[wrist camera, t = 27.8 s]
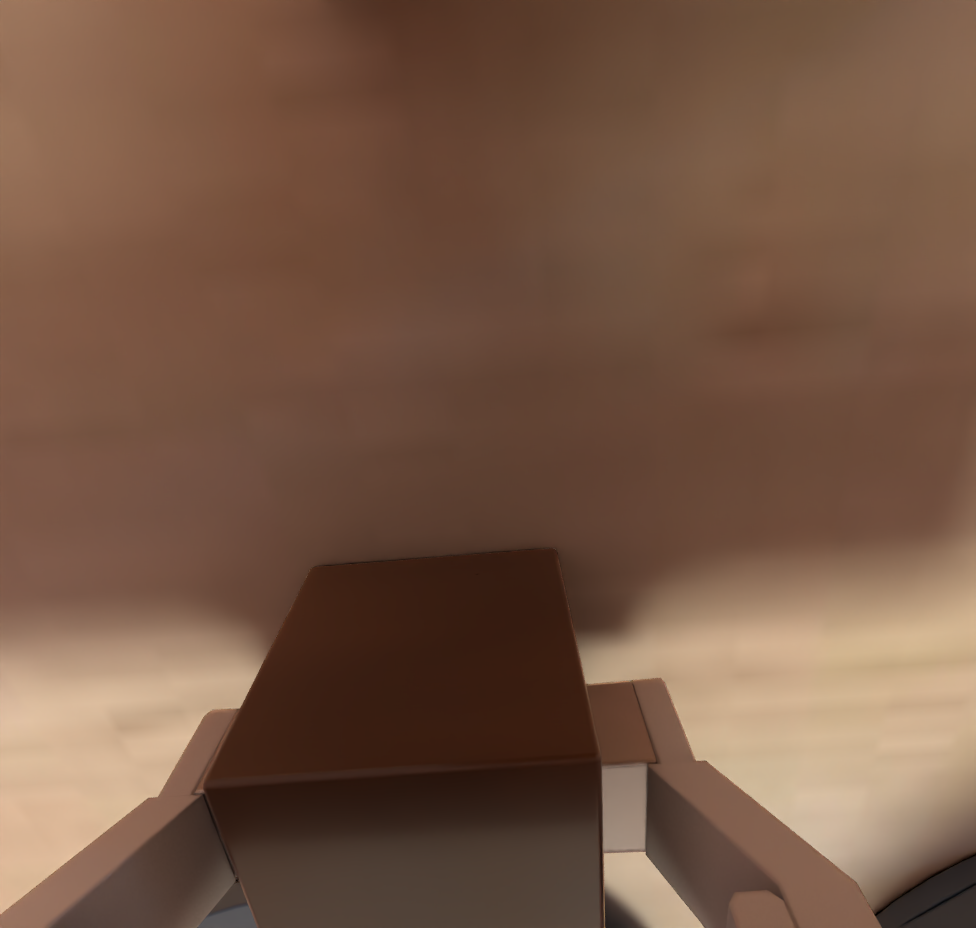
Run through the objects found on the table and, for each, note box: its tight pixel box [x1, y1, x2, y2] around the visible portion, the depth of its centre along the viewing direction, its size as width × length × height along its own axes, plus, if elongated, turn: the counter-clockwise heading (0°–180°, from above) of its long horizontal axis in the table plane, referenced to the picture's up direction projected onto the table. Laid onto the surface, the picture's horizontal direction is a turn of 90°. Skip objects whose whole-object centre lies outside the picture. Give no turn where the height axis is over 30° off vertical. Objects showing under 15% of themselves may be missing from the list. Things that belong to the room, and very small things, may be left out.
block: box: [203, 548, 605, 928], centre depth 9 cm, size 4×4×4 cm
